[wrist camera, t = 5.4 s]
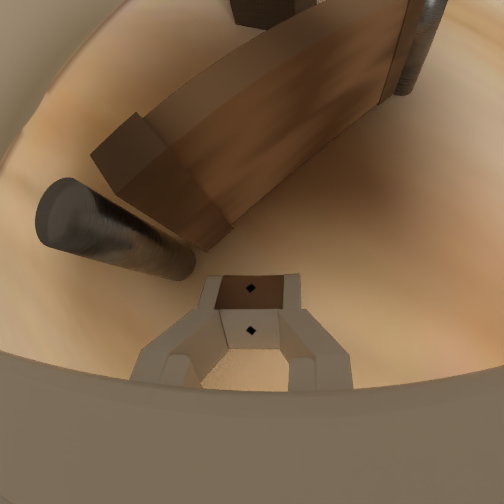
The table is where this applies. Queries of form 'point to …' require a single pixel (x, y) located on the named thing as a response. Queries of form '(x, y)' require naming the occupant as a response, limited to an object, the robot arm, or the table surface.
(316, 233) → the table surface
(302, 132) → the brown wooden bar
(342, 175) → the table surface
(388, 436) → the robot arm
